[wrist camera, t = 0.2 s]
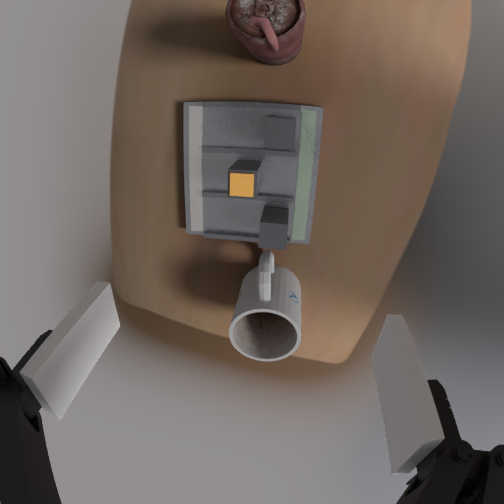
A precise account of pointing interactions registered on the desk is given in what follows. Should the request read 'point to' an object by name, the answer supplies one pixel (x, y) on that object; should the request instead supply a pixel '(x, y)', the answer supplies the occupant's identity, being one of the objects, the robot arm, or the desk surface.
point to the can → (268, 27)
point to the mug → (267, 312)
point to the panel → (248, 149)
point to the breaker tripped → (244, 179)
